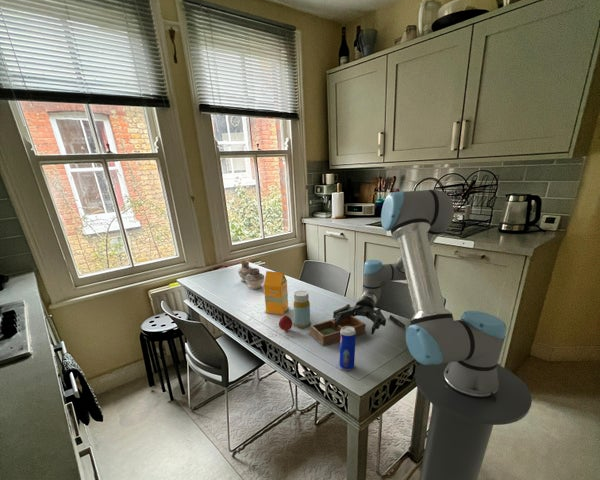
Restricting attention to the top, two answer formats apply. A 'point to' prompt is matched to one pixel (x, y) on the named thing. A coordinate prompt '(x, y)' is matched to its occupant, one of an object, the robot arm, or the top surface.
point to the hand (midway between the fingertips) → (353, 328)
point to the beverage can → (347, 347)
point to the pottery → (250, 275)
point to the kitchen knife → (398, 322)
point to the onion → (285, 323)
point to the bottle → (301, 309)
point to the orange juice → (275, 292)
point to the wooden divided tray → (335, 329)
